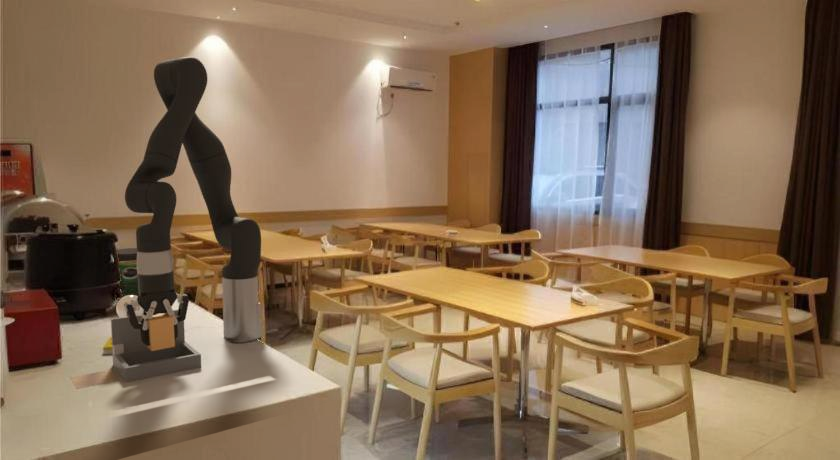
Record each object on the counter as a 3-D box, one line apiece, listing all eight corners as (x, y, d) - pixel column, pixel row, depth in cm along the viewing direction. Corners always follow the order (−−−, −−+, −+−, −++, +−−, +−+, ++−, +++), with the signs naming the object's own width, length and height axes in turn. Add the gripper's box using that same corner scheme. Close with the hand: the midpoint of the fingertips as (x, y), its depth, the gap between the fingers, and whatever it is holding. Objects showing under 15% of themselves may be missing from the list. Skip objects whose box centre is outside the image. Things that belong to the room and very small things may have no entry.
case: (184, 355, 148) (182, 308, 147) (201, 370, 138) (199, 320, 137) (113, 369, 138) (110, 318, 137) (126, 386, 128) (123, 332, 127)
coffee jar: (146, 298, 206) (144, 245, 204) (148, 304, 199) (145, 249, 197) (115, 301, 202) (112, 247, 199) (115, 307, 195) (112, 250, 192)
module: (168, 341, 141) (166, 312, 140) (175, 346, 137) (173, 316, 136) (145, 345, 138) (143, 316, 137) (152, 351, 134) (150, 320, 133)
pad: (111, 373, 136) (111, 369, 135) (118, 384, 129) (118, 380, 129) (70, 381, 131) (70, 377, 130) (76, 393, 124) (76, 388, 124)
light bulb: (111, 340, 160) (109, 296, 159) (132, 333, 166) (130, 291, 165) (131, 343, 157) (128, 299, 156) (151, 336, 164) (150, 293, 162)
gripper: (182, 263, 142) (186, 332, 145) (116, 271, 133) (122, 344, 136) (193, 268, 136) (197, 340, 139) (125, 277, 127) (130, 353, 130)
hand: (160, 341), depth 137 cm, fingers closed on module, 5 cm apart
